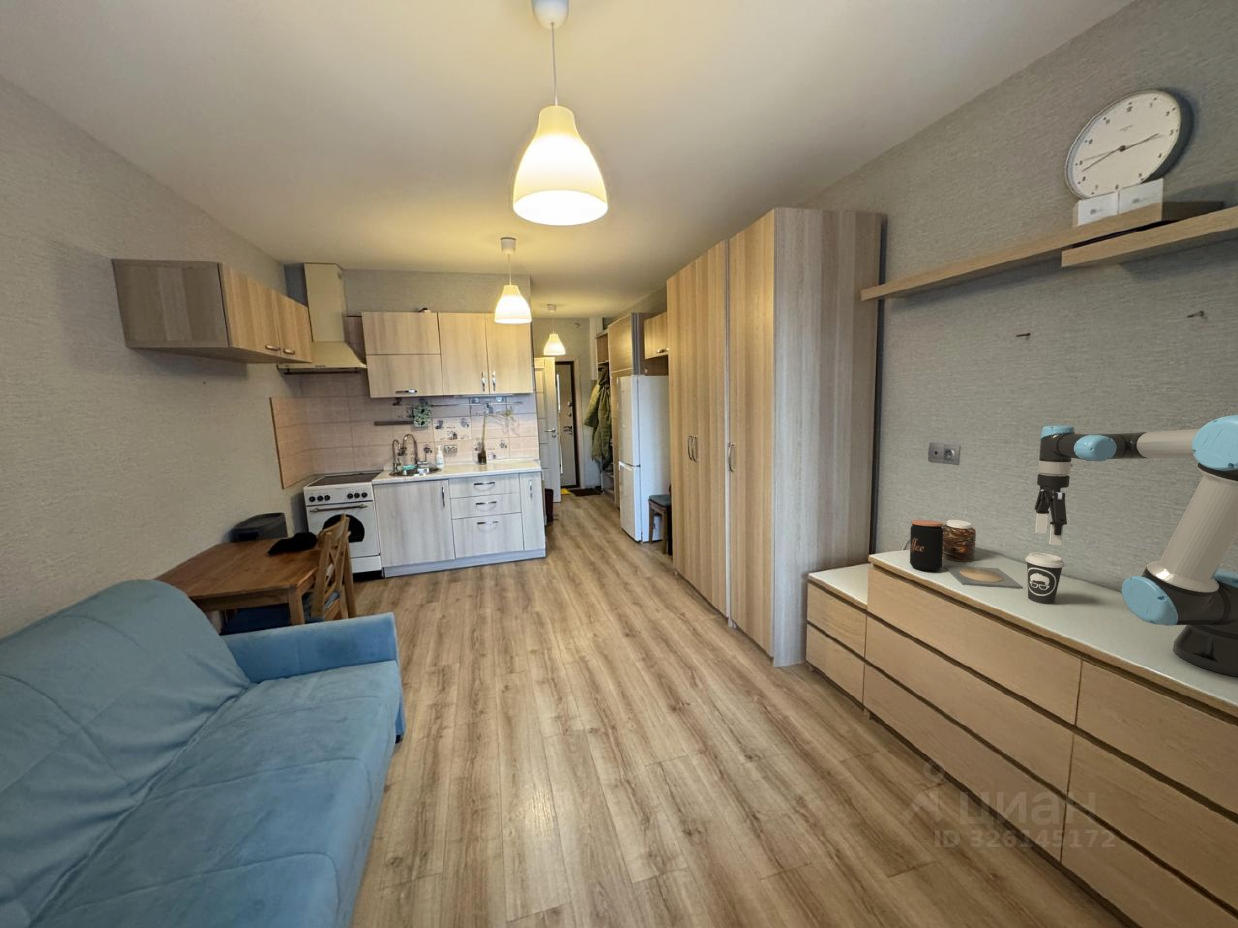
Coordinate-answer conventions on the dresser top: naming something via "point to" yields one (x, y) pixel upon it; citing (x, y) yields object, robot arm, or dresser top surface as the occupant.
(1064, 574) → the dresser top surface
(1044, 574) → the coffee cup
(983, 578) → the trivet
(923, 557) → the coffee jar
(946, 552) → the jar
